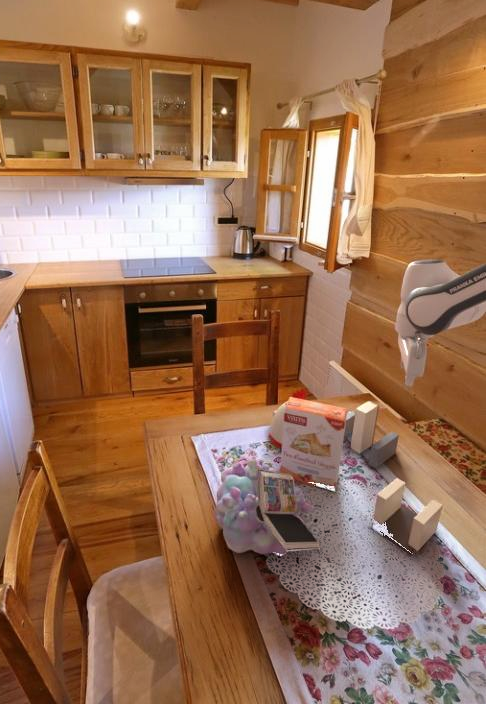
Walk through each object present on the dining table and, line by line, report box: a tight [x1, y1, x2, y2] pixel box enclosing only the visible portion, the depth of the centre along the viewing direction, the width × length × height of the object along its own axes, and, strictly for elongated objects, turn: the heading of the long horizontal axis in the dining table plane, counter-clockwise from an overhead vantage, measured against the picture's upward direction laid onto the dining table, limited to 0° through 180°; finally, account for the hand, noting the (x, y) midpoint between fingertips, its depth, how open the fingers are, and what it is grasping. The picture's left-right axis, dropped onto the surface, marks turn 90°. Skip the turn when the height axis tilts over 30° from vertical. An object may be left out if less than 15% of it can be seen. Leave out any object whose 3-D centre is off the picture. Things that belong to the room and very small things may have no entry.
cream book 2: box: [408, 499, 444, 552], centre depth 83 cm, size 2×8×7 cm, turn 128°
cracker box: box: [279, 396, 348, 488], centre depth 99 cm, size 14×6×21 cm, turn 68°
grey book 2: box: [368, 431, 400, 469], centre depth 109 cm, size 2×10×6 cm, turn 128°
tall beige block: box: [350, 400, 380, 454], centre depth 112 cm, size 3×6×13 cm, turn 128°
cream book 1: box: [372, 477, 406, 525], centre depth 89 cm, size 2×8×7 cm, turn 128°
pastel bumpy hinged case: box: [214, 455, 321, 555], centre depth 85 cm, size 20×22×18 cm
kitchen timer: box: [268, 388, 308, 450], centre depth 116 cm, size 14×14×15 cm
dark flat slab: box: [380, 503, 418, 558], centre depth 88 cm, size 9×10×2 cm
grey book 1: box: [344, 410, 356, 438], centre depth 118 cm, size 2×10×6 cm, turn 128°
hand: (406, 376), depth 103 cm, fingers open, 8 cm apart
